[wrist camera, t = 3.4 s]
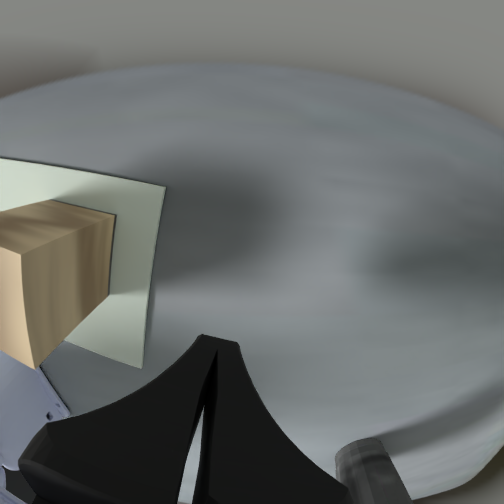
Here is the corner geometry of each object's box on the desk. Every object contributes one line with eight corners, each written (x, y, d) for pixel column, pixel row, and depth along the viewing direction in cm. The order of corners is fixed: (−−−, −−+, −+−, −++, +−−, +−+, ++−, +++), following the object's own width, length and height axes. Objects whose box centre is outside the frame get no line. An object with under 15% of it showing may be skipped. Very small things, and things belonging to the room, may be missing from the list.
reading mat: (166, 187, 15) (164, 187, 15) (142, 366, 18) (141, 369, 18) (-15, 156, 14) (-18, 156, 14) (-14, 298, 17) (-16, 299, 17)
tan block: (117, 214, 15) (21, 255, 8) (109, 295, 17) (34, 369, 9) (51, 199, 15) (-47, 225, 7) (48, 273, 16) (-34, 327, 9)
